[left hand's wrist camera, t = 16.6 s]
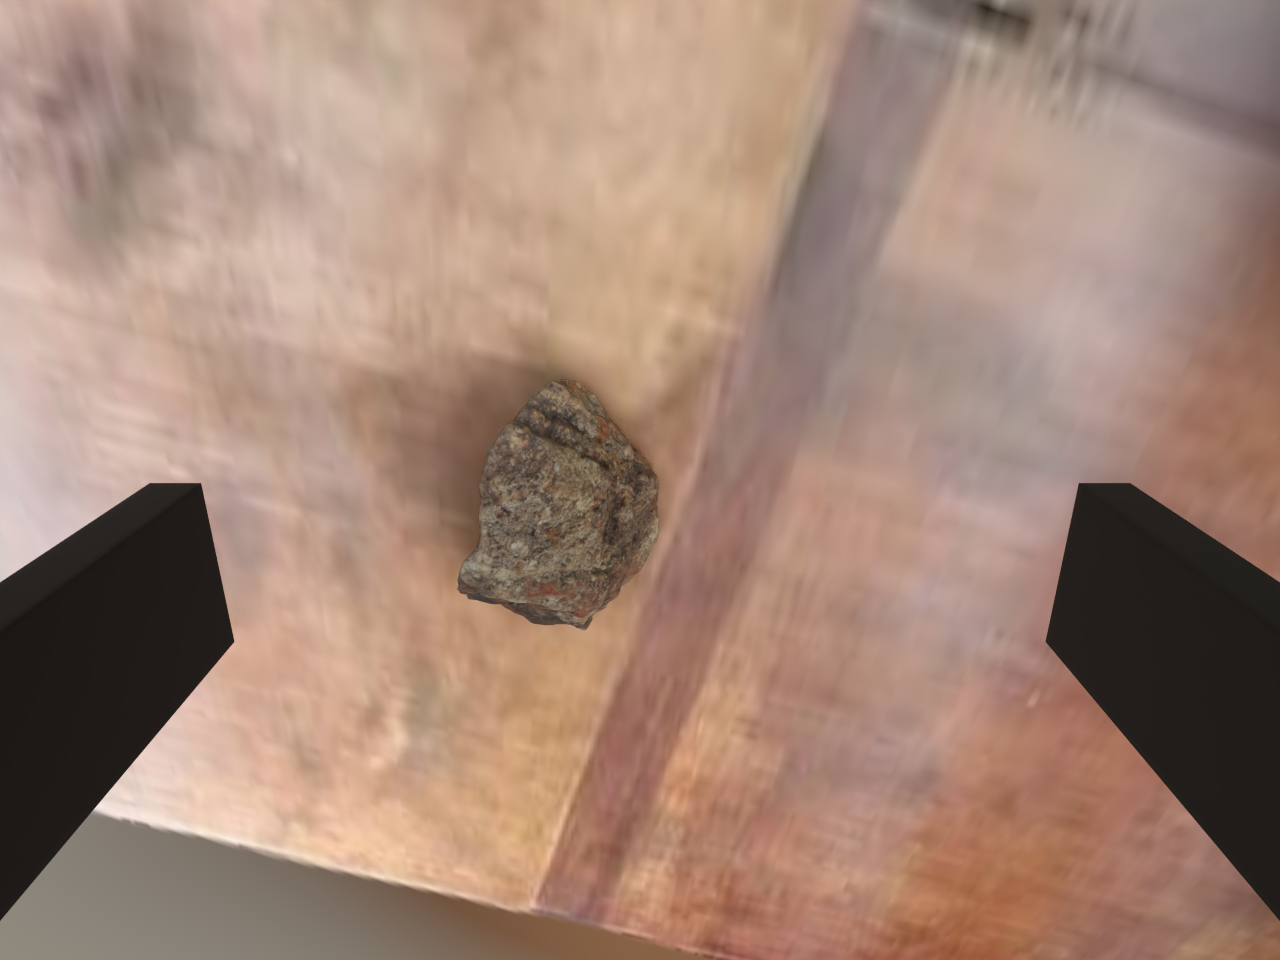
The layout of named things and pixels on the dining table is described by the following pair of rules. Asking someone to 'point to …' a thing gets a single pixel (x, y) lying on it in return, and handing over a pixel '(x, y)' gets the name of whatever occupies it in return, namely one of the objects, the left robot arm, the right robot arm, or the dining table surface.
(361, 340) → the dining table surface
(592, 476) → the rock
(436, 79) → the dining table surface
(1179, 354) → the dining table surface
